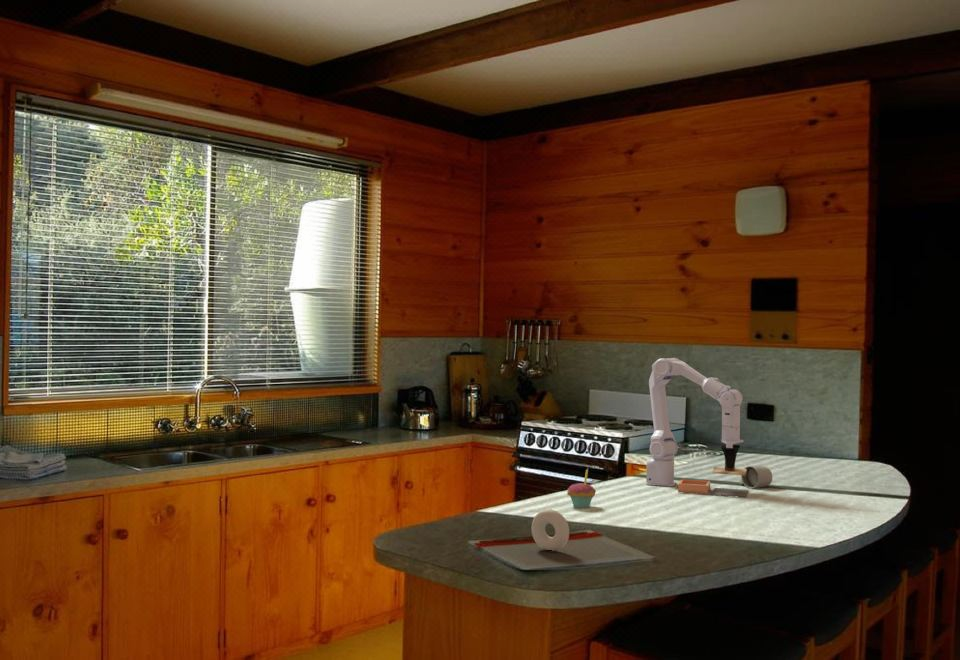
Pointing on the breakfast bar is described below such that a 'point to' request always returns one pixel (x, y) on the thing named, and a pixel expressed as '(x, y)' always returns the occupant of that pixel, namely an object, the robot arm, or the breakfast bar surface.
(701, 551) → the breakfast bar surface
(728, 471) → the lid
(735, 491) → the mat
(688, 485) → the dish
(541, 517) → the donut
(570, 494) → the cupcake
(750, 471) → the ceramic mug
